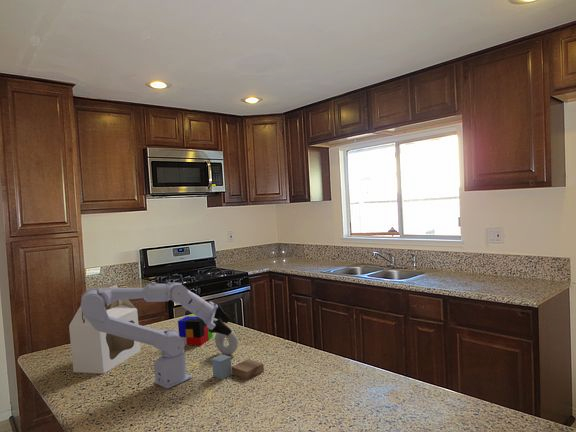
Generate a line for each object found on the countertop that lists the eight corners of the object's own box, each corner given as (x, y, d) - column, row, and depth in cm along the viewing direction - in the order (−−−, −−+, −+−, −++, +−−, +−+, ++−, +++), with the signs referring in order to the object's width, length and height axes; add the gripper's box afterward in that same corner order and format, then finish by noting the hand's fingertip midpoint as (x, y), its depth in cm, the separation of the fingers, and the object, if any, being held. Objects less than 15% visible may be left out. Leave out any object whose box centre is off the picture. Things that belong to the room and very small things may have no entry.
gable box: (103, 374, 142) (95, 296, 141) (72, 372, 146) (65, 296, 145) (141, 350, 164) (135, 282, 163) (113, 349, 167) (107, 283, 166)
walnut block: (247, 381, 129) (246, 371, 129) (232, 375, 134) (231, 366, 134) (263, 372, 135) (263, 363, 135) (248, 367, 140) (248, 359, 140)
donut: (240, 354, 151) (238, 328, 151) (235, 357, 148) (233, 331, 148) (220, 351, 156) (218, 325, 156) (214, 354, 153) (212, 328, 153)
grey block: (221, 379, 131) (220, 361, 131) (212, 376, 134) (211, 358, 134) (232, 374, 134) (231, 356, 134) (223, 371, 137) (222, 354, 137)
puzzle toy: (179, 344, 167) (177, 321, 167) (192, 336, 177) (190, 314, 176) (201, 345, 164) (199, 321, 164) (212, 337, 174) (210, 314, 174)
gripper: (206, 309, 129) (238, 330, 134) (206, 288, 143) (235, 308, 148) (192, 325, 130) (224, 345, 135) (193, 302, 144) (222, 321, 148)
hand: (229, 326), depth 141 cm, fingers open, 7 cm apart
